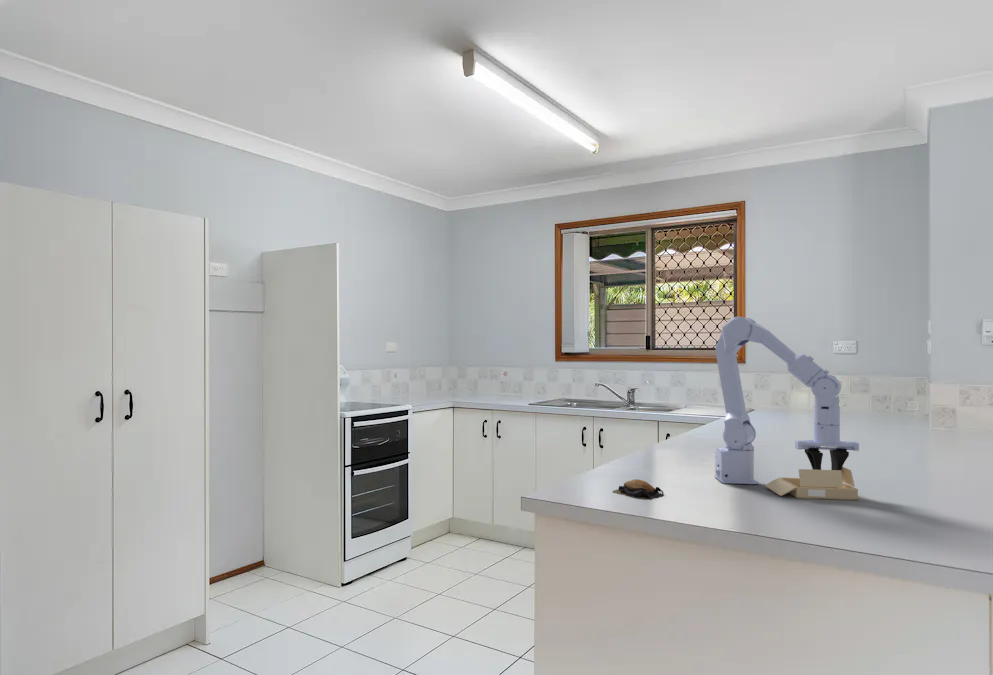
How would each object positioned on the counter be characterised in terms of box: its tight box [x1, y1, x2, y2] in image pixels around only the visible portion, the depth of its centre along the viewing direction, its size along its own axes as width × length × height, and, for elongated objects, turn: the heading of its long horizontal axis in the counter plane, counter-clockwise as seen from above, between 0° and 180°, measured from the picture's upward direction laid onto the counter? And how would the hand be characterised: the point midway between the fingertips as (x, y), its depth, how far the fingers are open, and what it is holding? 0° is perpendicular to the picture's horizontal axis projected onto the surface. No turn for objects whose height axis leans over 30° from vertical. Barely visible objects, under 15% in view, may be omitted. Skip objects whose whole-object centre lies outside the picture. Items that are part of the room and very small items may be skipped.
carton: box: [764, 477, 859, 501], centre depth 153 cm, size 18×15×3 cm
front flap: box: [798, 468, 844, 488], centre depth 146 cm, size 10×4×1 cm
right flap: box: [841, 466, 856, 488], centre depth 151 cm, size 4×8×1 cm
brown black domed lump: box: [612, 478, 665, 500], centre depth 149 cm, size 11×9×4 cm
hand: (826, 478), depth 152 cm, fingers open, 4 cm apart
